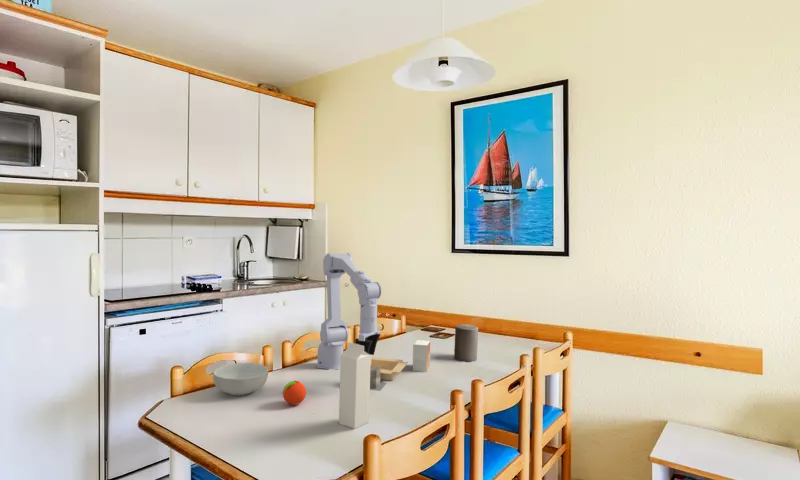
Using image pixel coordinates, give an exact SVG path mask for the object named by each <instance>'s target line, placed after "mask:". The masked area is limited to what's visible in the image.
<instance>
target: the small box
mask: <svg viewBox="0 0 800 480" xmlns="http://www.w3.org/2000/svg"><path fill="white" fill-rule="evenodd" d="M412 346H413V347H412V348H413V349H412V350H413V351H412V372H420V373H421V372H422V373H428V370H429V368H430V358H431V357H430V354H431V341H430V340H423V339H422V340H421V339H416V340H415V342H414V343H413V345H412Z"/></svg>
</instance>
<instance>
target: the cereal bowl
mask: <svg viewBox="0 0 800 480" xmlns="http://www.w3.org/2000/svg"><path fill="white" fill-rule="evenodd" d="M268 376H269V368H268V367H267V366H266V365H264V364H259V363H254V362H253V363H252V362H237V363H230V364H225V365H222V366H219V367H217V368H216V369H215V370H213V373H212V381H213V384H214V385H215V387H216V389H218V390H219V391H221V392H222V393H223V392H224V393H227V394H228V395H230V396H235V395H236V396H237V397H238V396H239V397H240V395H241V396H247V395H250V394H252V393H253V392H256V391H258V390H260V389H261V388H262V387H263V386H264V385H265V384H266V382H267V380H268Z"/></svg>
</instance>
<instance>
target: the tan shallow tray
mask: <svg viewBox="0 0 800 480" xmlns="http://www.w3.org/2000/svg"><path fill="white" fill-rule="evenodd" d="M407 365H408V362H407V361H404V360H403V359H394V358H387V357H386V358H385V357H378V356H377V357H376V356H371V364H370V366H380V367H381V371H380V380H384V381H394V379H395V378H396V377H397V376H398V375H399V374H400V373H401V372H402V370H404V368H405V367H406V366H407Z"/></svg>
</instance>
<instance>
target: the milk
mask: <svg viewBox="0 0 800 480" xmlns="http://www.w3.org/2000/svg"><path fill="white" fill-rule="evenodd" d="M371 358H372V355H369V354H368V353H366V352H364V346H363V345H358V344H356V343H355V342H348V343H347V348H346V349H345V350H343V354H342V355H341V360H340V370H339V400H338V402H339V403H338V407H339V408H338V424H340V425H342V426H346V427H348V428H352V429H354V430H355V429H358V428H359V427H362V426H364V425H366V424H369V422H370V397H371V395H370V394H371V390H370V364H371Z"/></svg>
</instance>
